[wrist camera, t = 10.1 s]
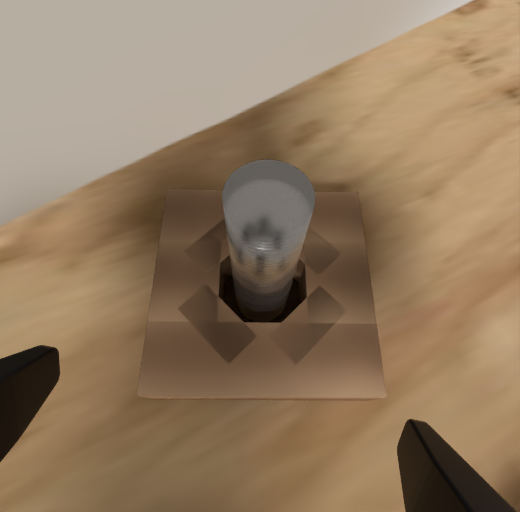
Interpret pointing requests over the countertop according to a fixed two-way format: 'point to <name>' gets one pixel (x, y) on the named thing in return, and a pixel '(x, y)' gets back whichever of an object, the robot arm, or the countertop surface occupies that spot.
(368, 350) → the bore block
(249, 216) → the round bit
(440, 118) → the countertop surface
